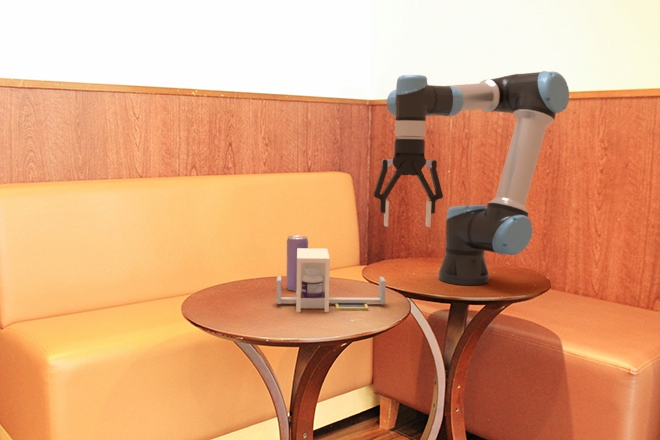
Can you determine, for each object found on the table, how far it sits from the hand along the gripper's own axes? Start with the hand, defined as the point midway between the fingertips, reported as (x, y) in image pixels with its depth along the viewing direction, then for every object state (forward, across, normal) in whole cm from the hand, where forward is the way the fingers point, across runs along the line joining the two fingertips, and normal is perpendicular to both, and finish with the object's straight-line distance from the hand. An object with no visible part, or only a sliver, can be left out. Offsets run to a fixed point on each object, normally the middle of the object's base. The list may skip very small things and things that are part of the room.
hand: (407, 226), depth 164 cm
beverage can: (+21, +28, -17) cm, 39 cm away
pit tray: (+21, +14, 0) cm, 25 cm away
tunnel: (+21, +24, 0) cm, 32 cm away
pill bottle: (+21, +24, 0) cm, 32 cm away
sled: (+21, +19, 0) cm, 28 cm away
